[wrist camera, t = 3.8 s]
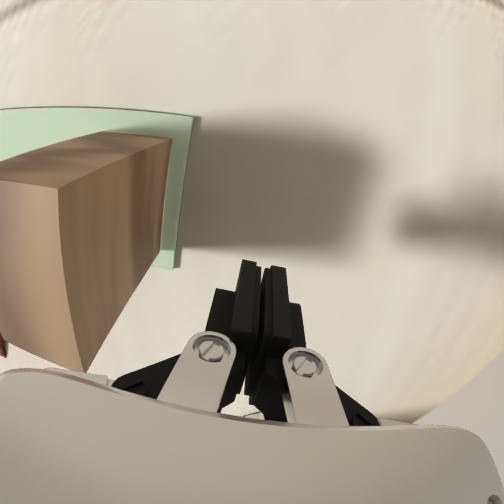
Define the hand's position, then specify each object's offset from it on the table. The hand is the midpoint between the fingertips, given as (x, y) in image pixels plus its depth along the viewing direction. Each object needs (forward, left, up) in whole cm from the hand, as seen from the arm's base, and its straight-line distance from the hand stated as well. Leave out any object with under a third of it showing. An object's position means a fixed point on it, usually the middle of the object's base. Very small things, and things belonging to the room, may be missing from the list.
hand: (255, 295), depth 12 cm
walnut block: (+8, +5, -9) cm, 13 cm away
